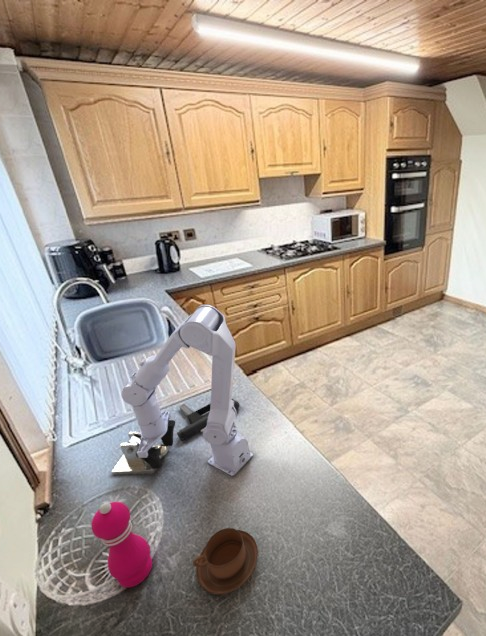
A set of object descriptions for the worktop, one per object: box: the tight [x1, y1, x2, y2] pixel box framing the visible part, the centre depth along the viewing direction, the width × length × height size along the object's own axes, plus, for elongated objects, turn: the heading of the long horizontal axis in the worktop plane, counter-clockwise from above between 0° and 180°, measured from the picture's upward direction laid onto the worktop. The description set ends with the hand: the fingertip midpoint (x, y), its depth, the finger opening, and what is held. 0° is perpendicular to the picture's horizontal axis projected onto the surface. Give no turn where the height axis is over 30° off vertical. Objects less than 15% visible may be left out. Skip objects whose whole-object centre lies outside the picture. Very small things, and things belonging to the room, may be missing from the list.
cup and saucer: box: [192, 527, 259, 595], centre depth 69 cm, size 12×12×6 cm
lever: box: [127, 436, 169, 458], centre depth 93 cm, size 10×3×3 cm, turn 91°
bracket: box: [111, 430, 169, 475], centre depth 94 cm, size 11×9×8 cm
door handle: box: [176, 398, 241, 441], centre depth 111 cm, size 3×20×16 cm
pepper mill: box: [91, 501, 153, 589], centre depth 66 cm, size 7×7×20 cm
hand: (163, 455), depth 95 cm, fingers open, 7 cm apart
